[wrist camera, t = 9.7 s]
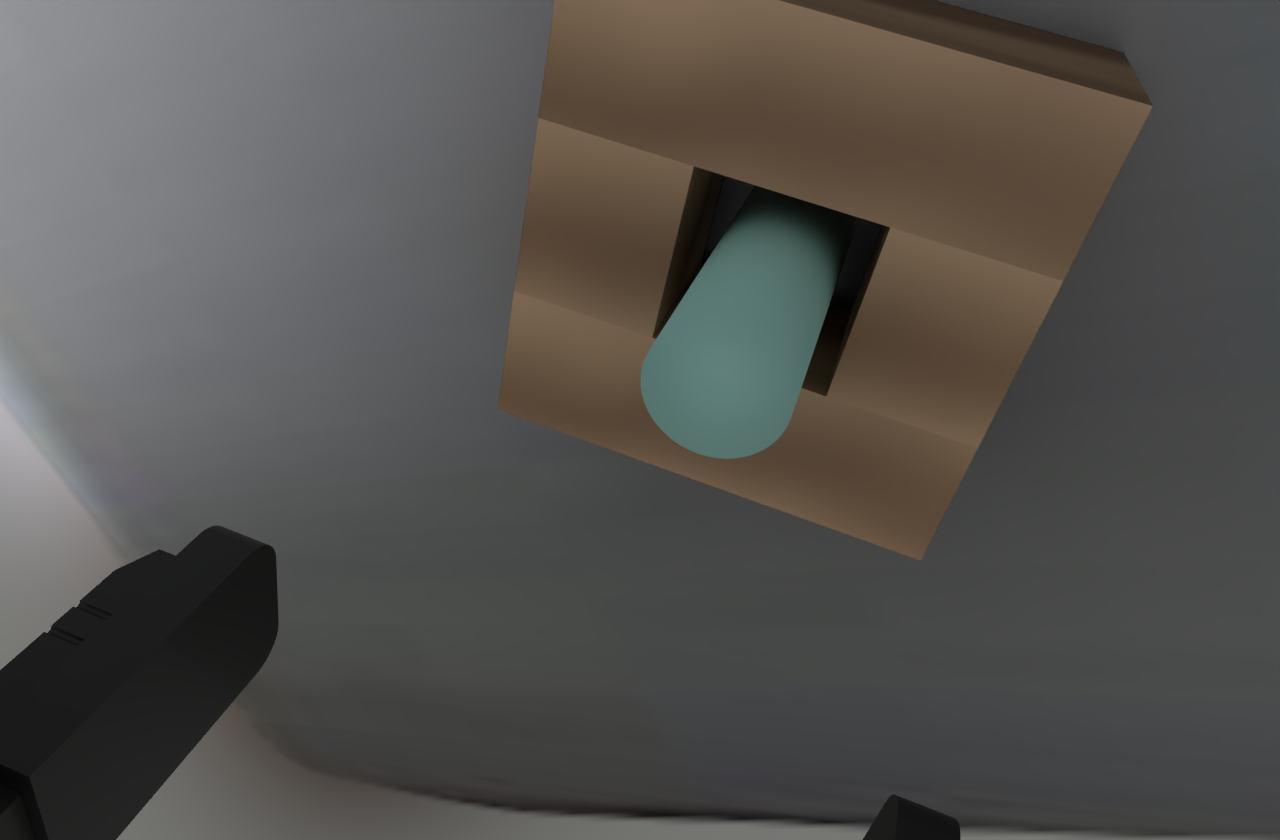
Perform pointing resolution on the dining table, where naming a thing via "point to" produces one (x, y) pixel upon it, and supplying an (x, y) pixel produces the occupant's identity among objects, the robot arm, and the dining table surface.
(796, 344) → the peg
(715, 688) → the dining table surface
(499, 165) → the dining table surface
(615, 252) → the hole block
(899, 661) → the dining table surface
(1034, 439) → the dining table surface
